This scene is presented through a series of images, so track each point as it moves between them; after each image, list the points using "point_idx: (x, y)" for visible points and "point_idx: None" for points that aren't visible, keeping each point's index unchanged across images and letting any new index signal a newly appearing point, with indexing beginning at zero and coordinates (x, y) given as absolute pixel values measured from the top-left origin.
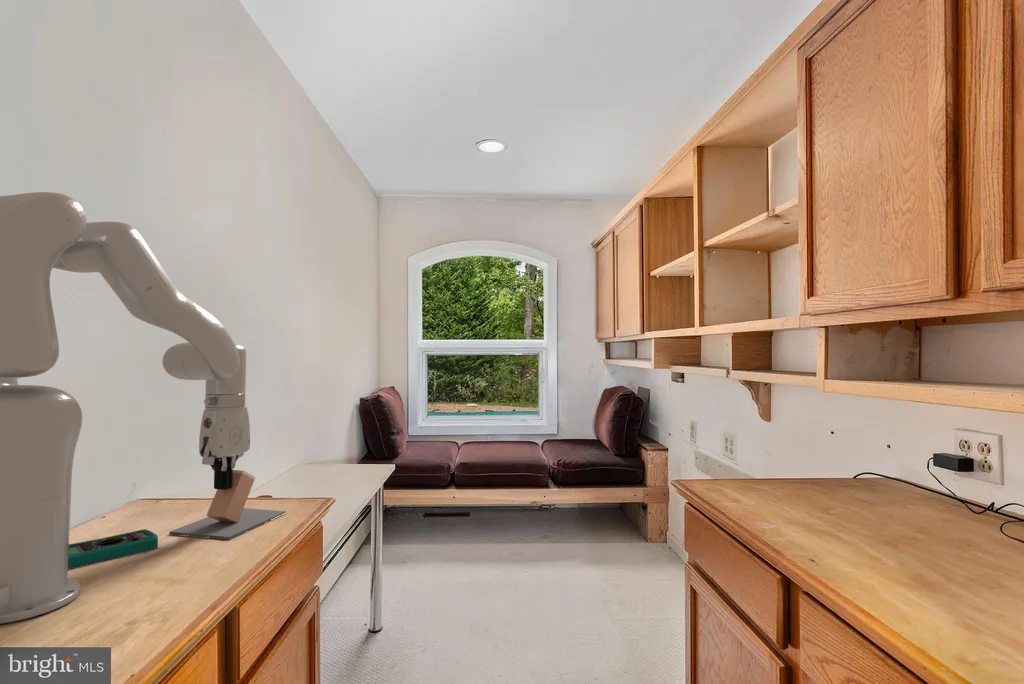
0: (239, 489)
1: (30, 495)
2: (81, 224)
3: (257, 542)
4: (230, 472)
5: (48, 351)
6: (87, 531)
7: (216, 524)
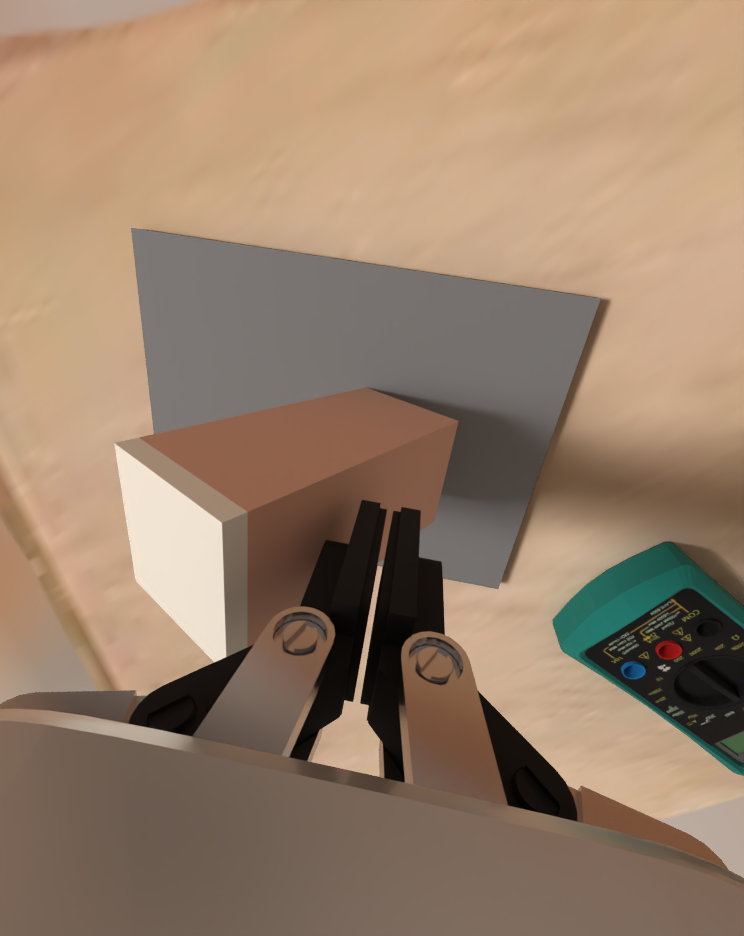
0: (322, 453)
1: None
2: None
3: (664, 83)
4: (362, 589)
5: None
6: None
7: None
